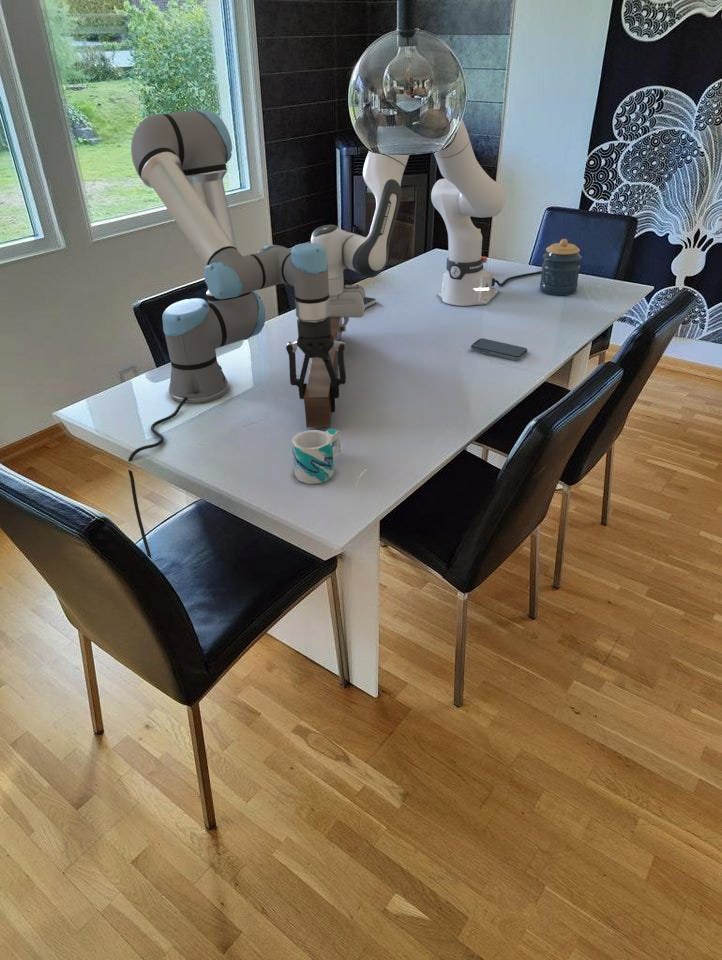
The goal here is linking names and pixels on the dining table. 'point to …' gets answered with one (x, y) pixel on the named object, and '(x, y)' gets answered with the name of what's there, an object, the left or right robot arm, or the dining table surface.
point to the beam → (321, 384)
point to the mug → (315, 455)
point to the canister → (560, 269)
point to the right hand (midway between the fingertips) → (331, 331)
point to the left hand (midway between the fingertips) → (320, 409)
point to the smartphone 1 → (368, 301)
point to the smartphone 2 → (499, 349)
